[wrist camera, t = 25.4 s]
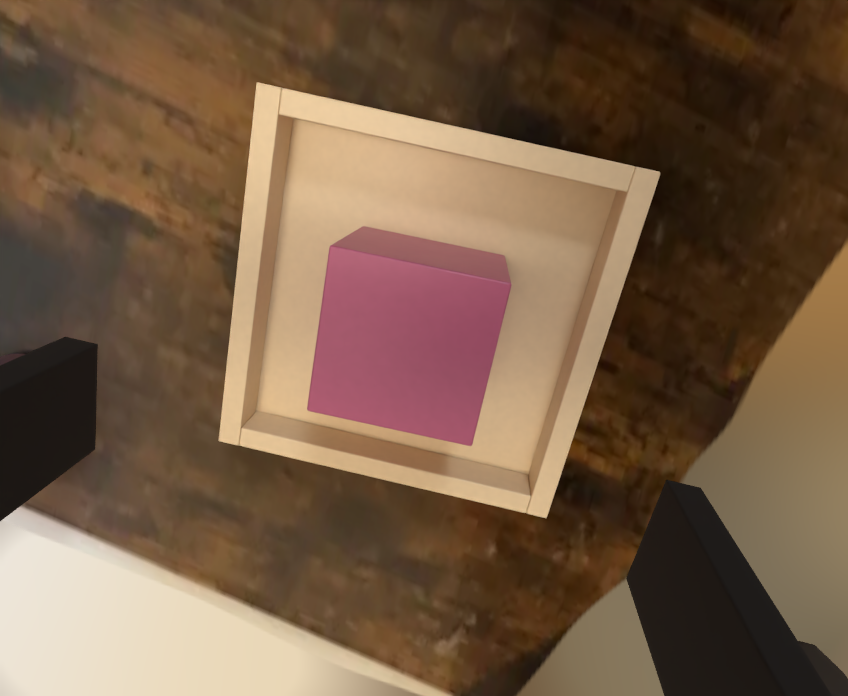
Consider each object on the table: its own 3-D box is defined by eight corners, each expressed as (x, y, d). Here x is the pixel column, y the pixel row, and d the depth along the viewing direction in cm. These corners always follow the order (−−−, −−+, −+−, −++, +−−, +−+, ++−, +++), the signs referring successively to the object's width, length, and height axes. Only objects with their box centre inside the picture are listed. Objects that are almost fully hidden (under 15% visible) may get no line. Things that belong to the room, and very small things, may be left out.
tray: (641, 170, 25) (661, 172, 22) (540, 485, 30) (546, 518, 28) (281, 90, 26) (256, 81, 23) (242, 414, 31) (218, 441, 28)
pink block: (505, 255, 26) (512, 283, 20) (473, 388, 28) (472, 447, 22) (362, 225, 26) (328, 244, 20) (341, 359, 28) (306, 411, 22)
